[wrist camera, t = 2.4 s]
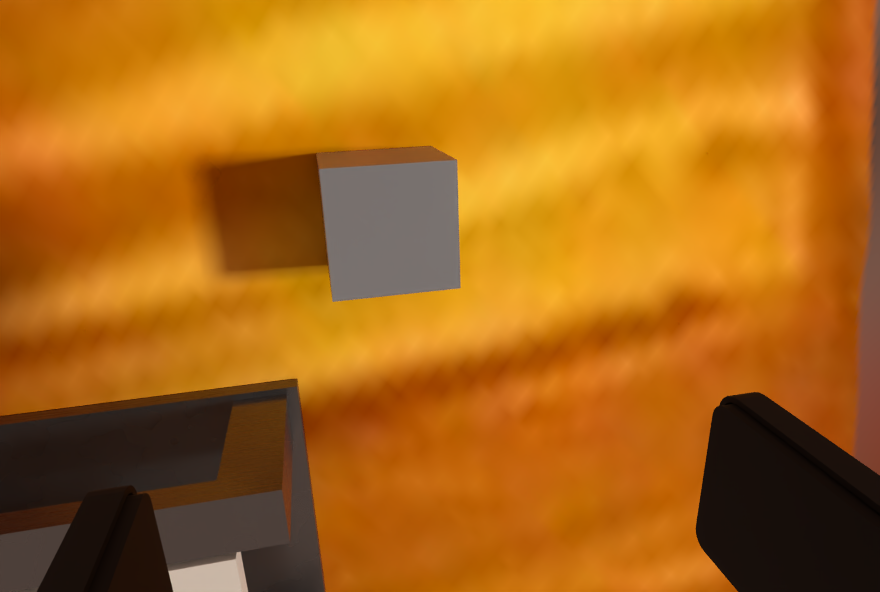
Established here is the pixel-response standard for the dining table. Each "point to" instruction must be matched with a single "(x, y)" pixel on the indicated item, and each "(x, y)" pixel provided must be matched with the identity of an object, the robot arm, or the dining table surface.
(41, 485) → the trapdoor frame
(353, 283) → the slate block
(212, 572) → the trapdoor
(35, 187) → the dining table surface
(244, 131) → the dining table surface
